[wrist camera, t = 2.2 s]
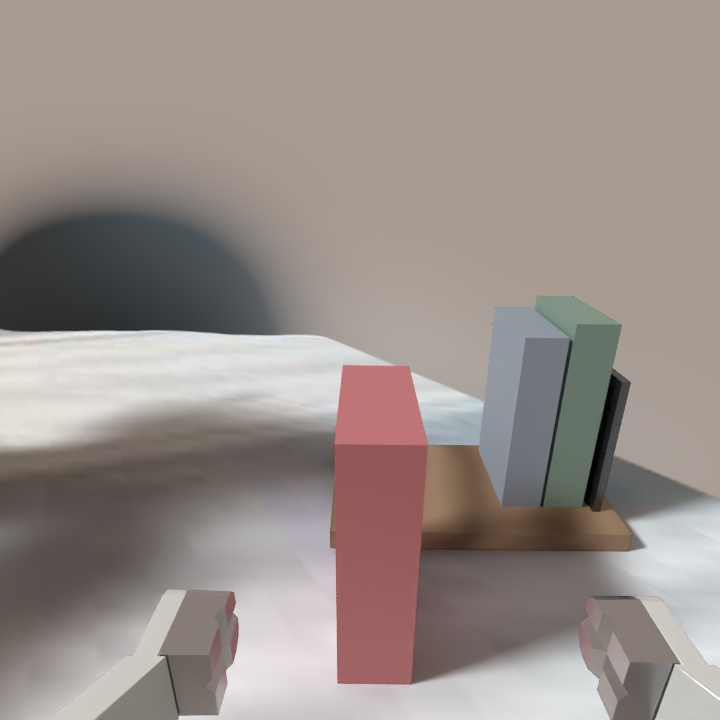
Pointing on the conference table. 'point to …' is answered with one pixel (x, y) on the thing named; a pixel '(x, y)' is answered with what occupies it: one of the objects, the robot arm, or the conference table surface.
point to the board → (501, 513)
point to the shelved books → (545, 400)
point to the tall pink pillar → (378, 523)
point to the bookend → (606, 440)
